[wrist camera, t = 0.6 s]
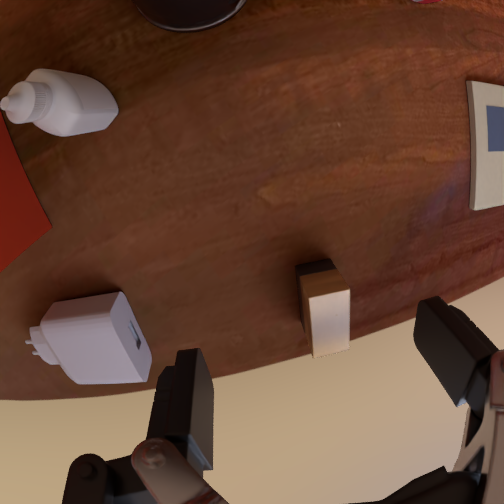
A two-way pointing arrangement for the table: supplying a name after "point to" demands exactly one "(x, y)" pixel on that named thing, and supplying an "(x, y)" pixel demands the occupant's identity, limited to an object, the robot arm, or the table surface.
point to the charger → (93, 340)
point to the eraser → (324, 307)
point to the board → (486, 144)
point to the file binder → (16, 204)
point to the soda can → (425, 1)
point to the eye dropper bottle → (60, 103)
